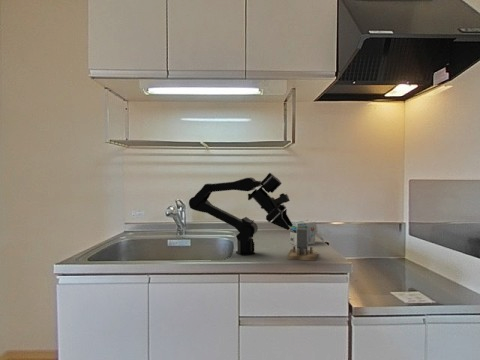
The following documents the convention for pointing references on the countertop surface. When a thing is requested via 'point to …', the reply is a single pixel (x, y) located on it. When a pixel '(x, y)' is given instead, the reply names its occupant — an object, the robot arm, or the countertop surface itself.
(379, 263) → the countertop surface
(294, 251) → the wooden peg board
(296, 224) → the light bulb box
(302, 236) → the block
